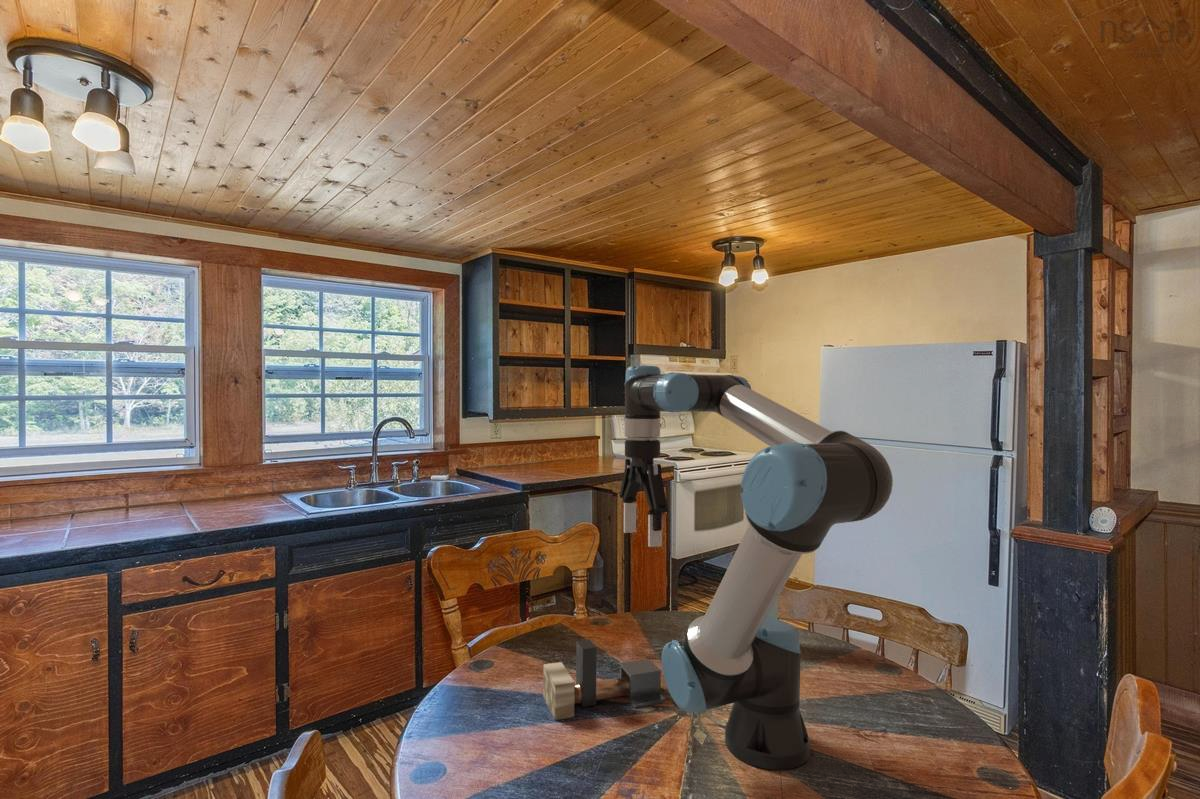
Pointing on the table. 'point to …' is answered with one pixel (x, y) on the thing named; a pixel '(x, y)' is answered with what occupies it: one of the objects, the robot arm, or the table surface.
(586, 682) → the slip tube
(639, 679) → the grey block
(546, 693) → the socket block
